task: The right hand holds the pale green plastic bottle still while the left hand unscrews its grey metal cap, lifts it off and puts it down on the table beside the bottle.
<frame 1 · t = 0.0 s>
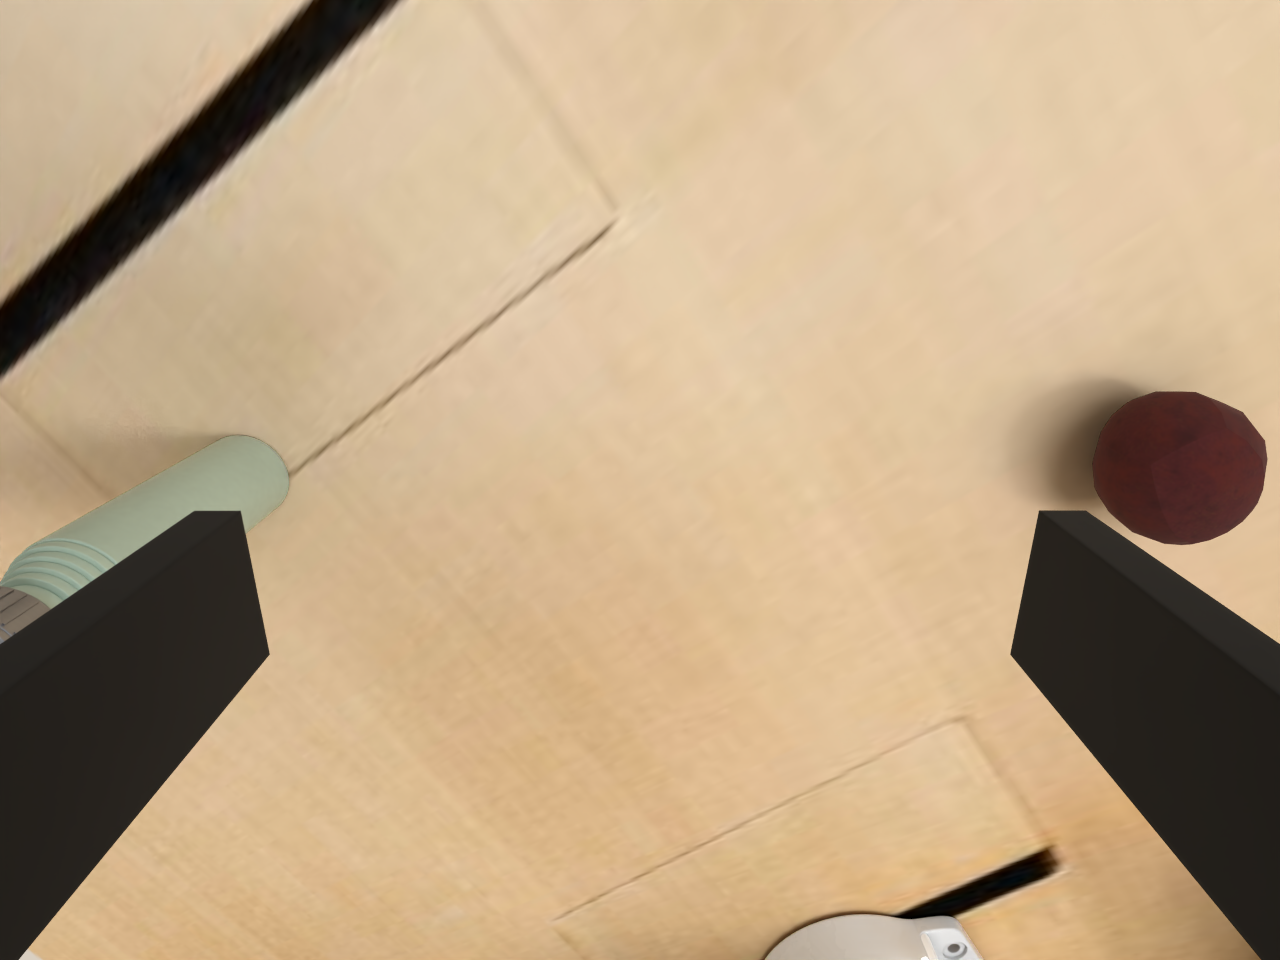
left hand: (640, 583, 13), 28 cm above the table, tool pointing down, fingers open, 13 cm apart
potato: (1130, 443, 41), on the table
bottle: (246, 475, 42), on the table
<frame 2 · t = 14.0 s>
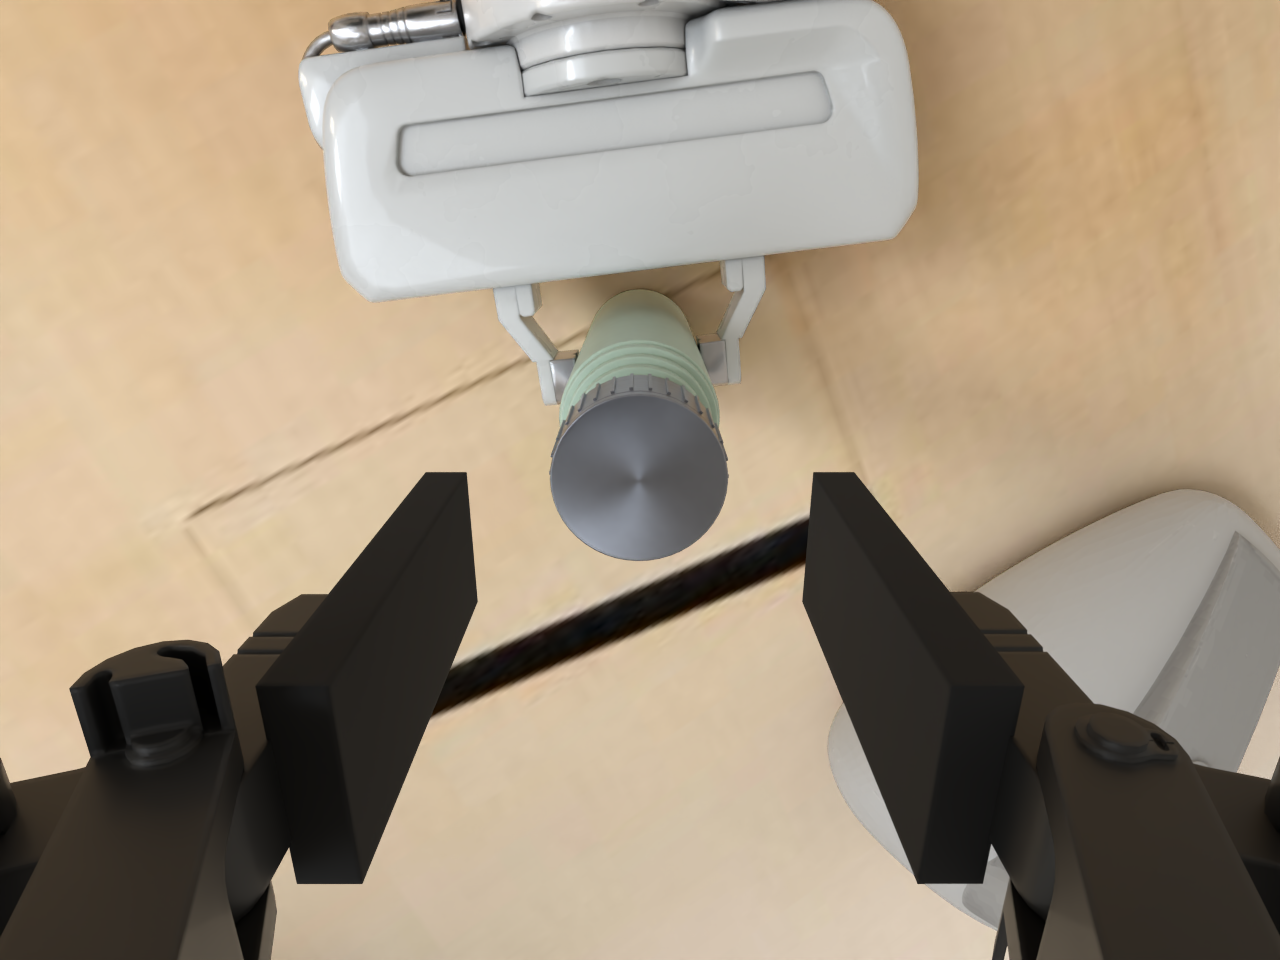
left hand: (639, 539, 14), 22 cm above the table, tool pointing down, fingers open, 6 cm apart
right hand: (643, 391, 29), fingers closed on bottle, 5 cm apart
cap: (639, 476, 17), point 18 cm above the table, screwed on, not yet turned
bottle: (639, 341, 35), on the table, touching right hand
projector: (1034, 655, 41), on the table
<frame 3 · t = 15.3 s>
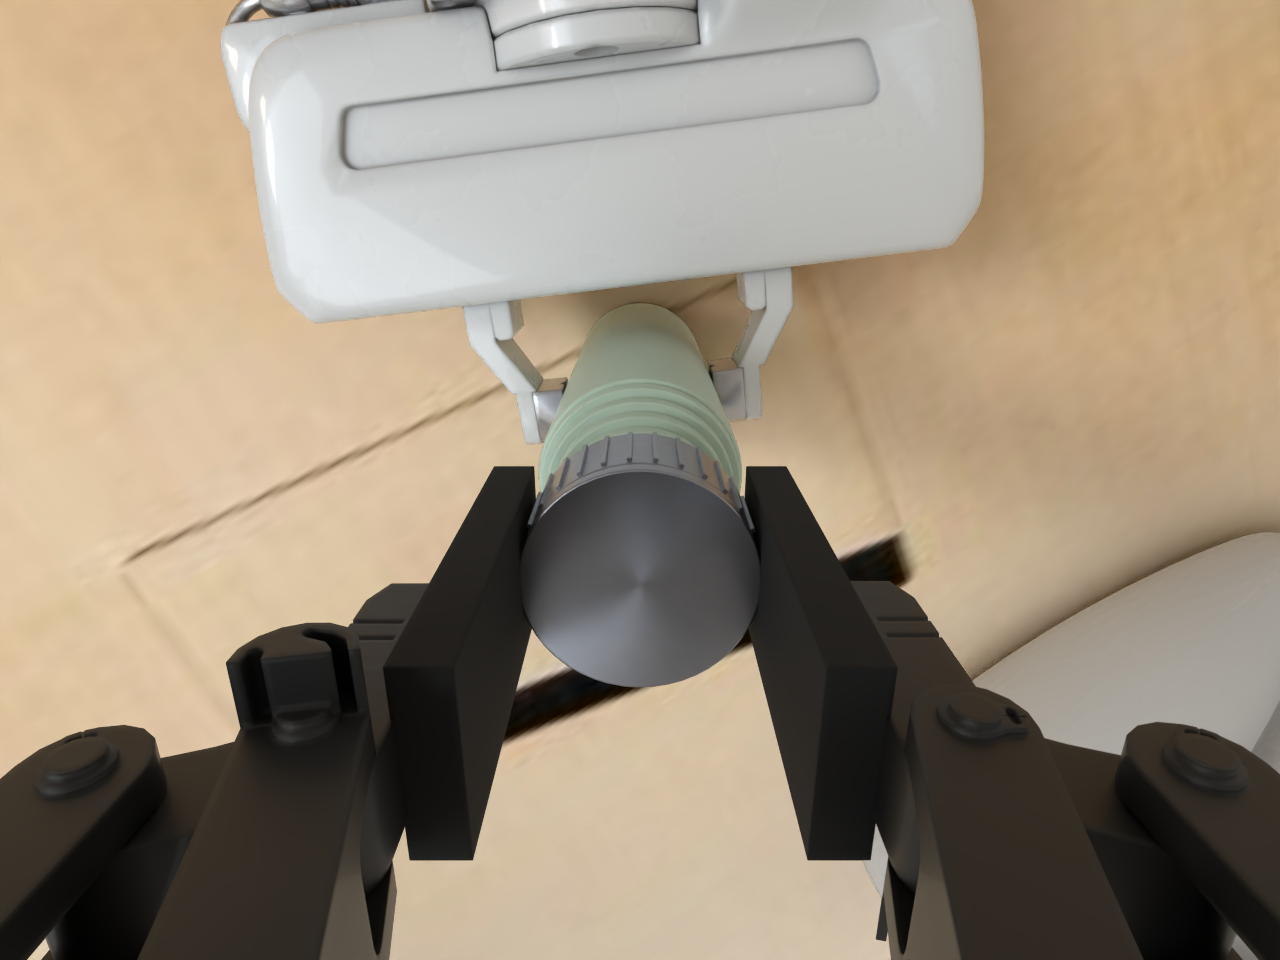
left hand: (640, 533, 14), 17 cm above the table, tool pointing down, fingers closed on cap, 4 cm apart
right hand: (644, 427, 24), fingers closed on bottle, 5 cm apart
cap: (640, 576, 13), point 18 cm above the table, screwed on, not yet turned, touching left hand
bottle: (640, 362, 30), on the table, touching right hand
projector: (1086, 714, 36), on the table
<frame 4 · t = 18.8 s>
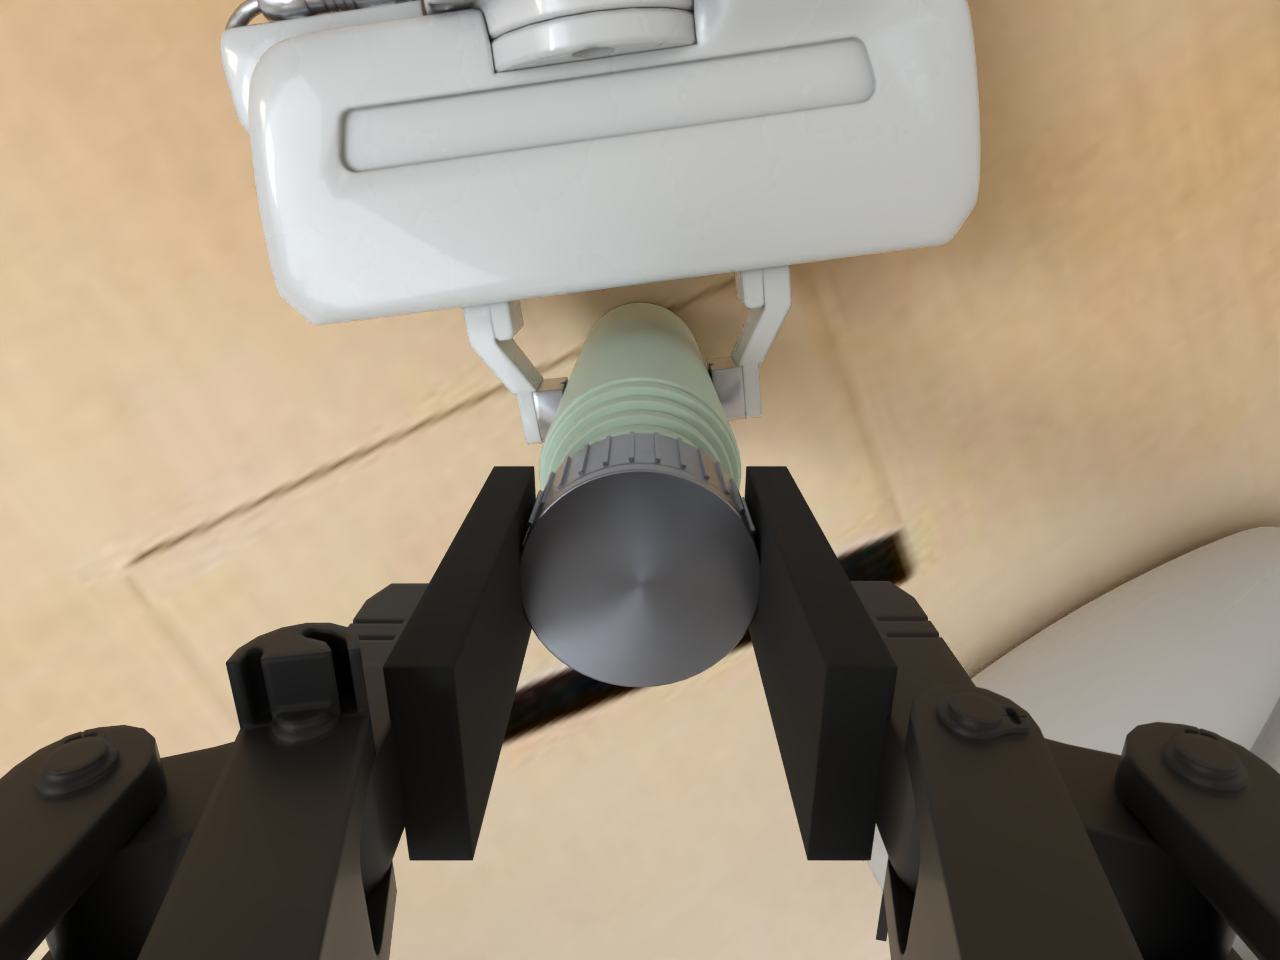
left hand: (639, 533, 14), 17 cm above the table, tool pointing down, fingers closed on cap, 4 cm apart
right hand: (644, 426, 25), fingers closed on bottle, 5 cm apart
cap: (640, 576, 13), point 18 cm above the table, turned 107° so far, risen 0.1 cm, still on its thread, touching left hand
bottle: (640, 362, 30), on the table, touching right hand
projector: (1088, 710, 36), on the table
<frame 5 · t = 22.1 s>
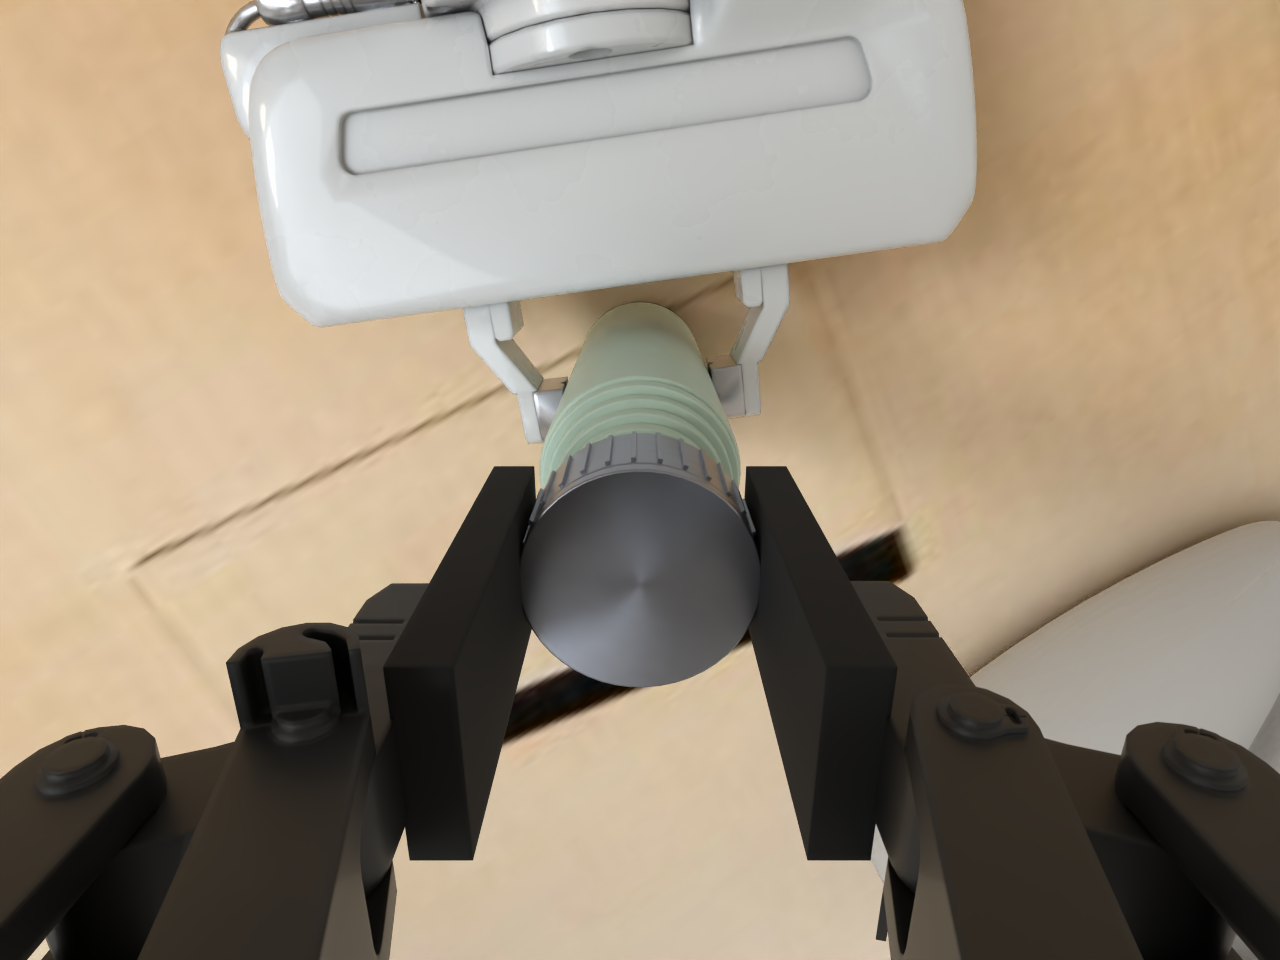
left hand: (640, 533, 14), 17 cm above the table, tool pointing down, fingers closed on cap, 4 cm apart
right hand: (645, 425, 25), fingers closed on bottle, 5 cm apart
cap: (640, 576, 13), point 19 cm above the table, turned 213° so far, risen 0.2 cm, still on its thread, touching left hand
bottle: (640, 361, 30), on the table, touching right hand
projector: (1090, 705, 36), on the table
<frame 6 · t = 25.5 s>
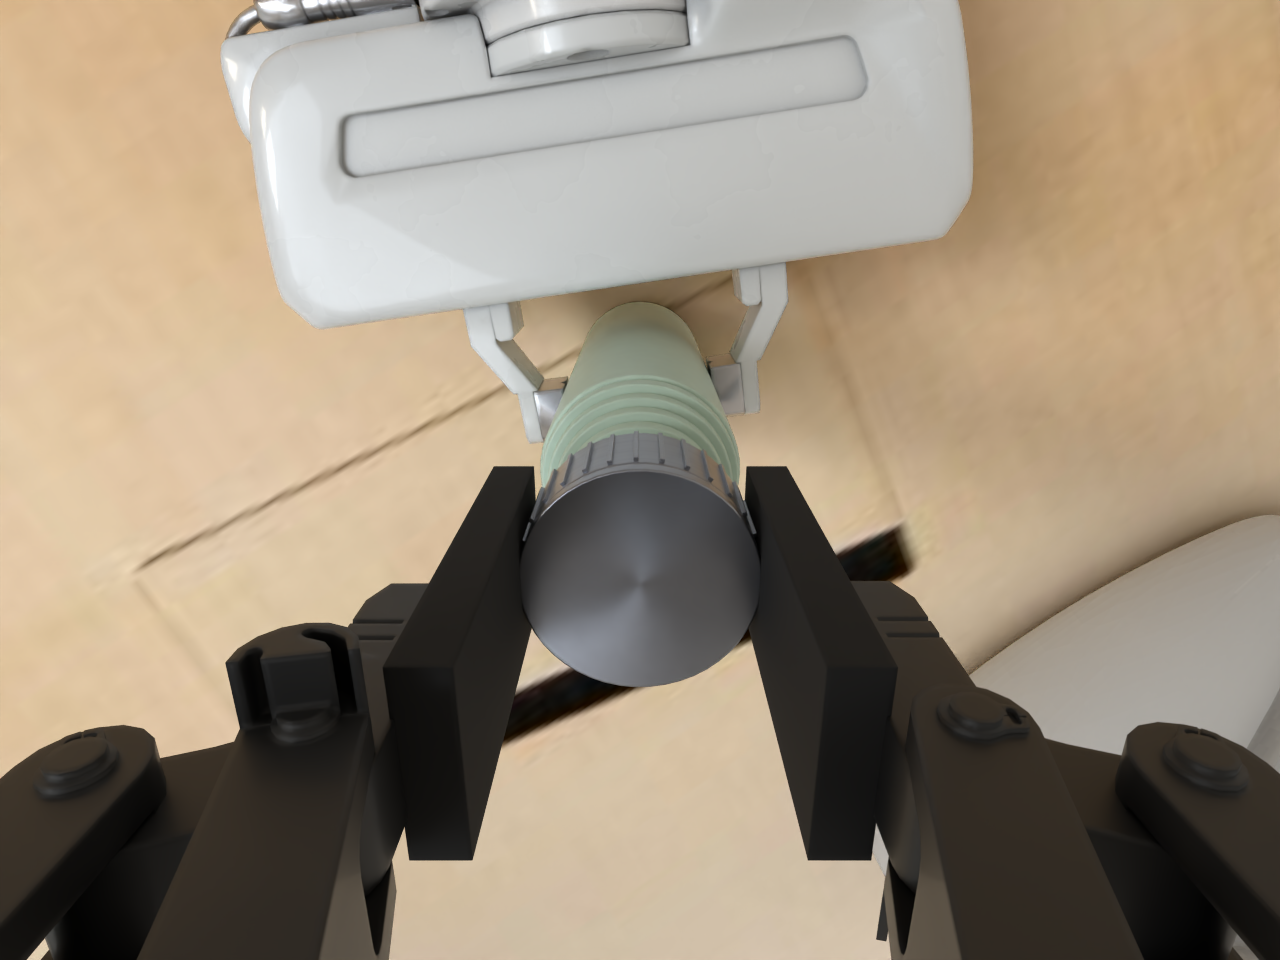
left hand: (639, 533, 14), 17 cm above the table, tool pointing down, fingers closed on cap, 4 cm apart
right hand: (645, 424, 25), fingers closed on bottle, 5 cm apart
cap: (640, 576, 13), point 19 cm above the table, turned 320° so far, risen 0.4 cm, still on its thread, touching left hand
bottle: (640, 361, 30), on the table, touching right hand
projector: (1092, 700, 36), on the table
when the left hand's fingers open (1 cm above the table, at t = 36.2 s): cap drops 1 cm, point 2 cm above the table.
when the right hand's fingers open (6 cm above the table, at t = 37.5 s): bottle stays where it is, on the table.
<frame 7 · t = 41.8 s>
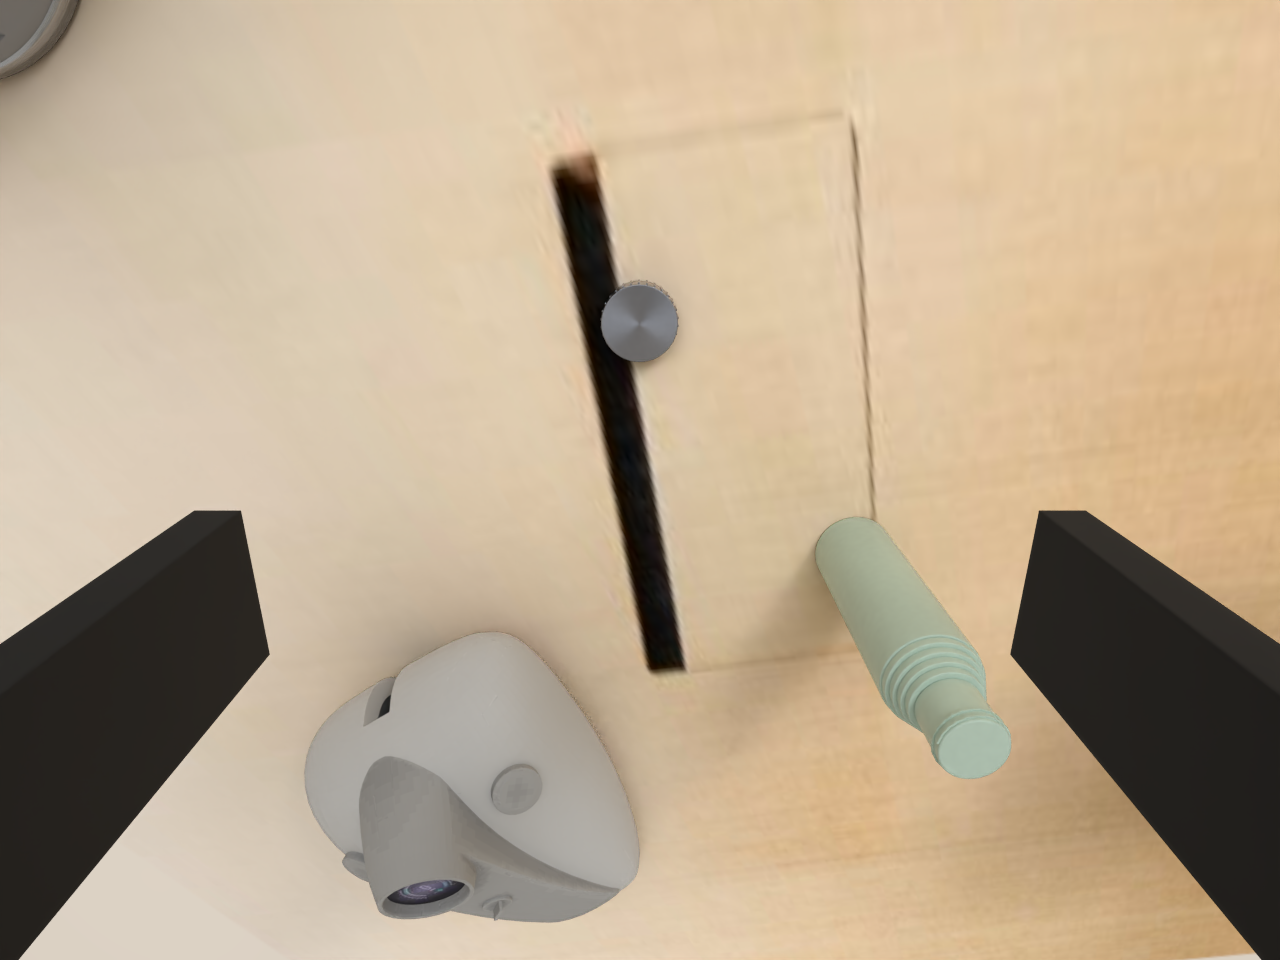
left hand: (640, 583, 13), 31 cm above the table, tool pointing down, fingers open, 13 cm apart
cap: (639, 323, 40), point 2 cm above the table, off its thread
bottle: (852, 551, 47), on the table
projector: (515, 758, 52), on the table
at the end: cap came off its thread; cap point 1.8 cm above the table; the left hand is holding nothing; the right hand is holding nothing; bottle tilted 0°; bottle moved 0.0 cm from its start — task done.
